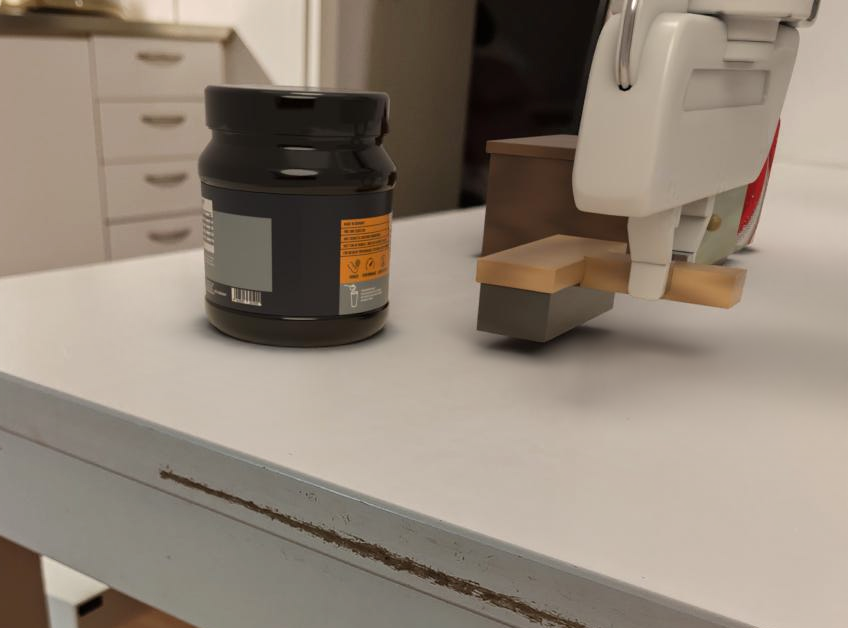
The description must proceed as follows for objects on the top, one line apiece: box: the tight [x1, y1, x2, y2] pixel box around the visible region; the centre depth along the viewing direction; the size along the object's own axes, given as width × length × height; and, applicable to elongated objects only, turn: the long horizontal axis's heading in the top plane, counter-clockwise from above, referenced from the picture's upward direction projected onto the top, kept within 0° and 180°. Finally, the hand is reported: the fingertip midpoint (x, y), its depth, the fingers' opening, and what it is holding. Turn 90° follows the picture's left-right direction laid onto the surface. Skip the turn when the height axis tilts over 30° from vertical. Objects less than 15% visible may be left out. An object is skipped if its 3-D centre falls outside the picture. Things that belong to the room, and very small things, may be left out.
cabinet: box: [480, 134, 748, 266], centre depth 77 cm, size 18×15×8 cm
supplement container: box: [196, 83, 398, 348], centre depth 53 cm, size 10×10×12 cm
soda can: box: [733, 117, 782, 253], centre depth 84 cm, size 7×7×12 cm
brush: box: [475, 235, 748, 343], centre depth 52 cm, size 12×10×4 cm
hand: (658, 291), depth 51 cm, fingers closed on brush, 2 cm apart
